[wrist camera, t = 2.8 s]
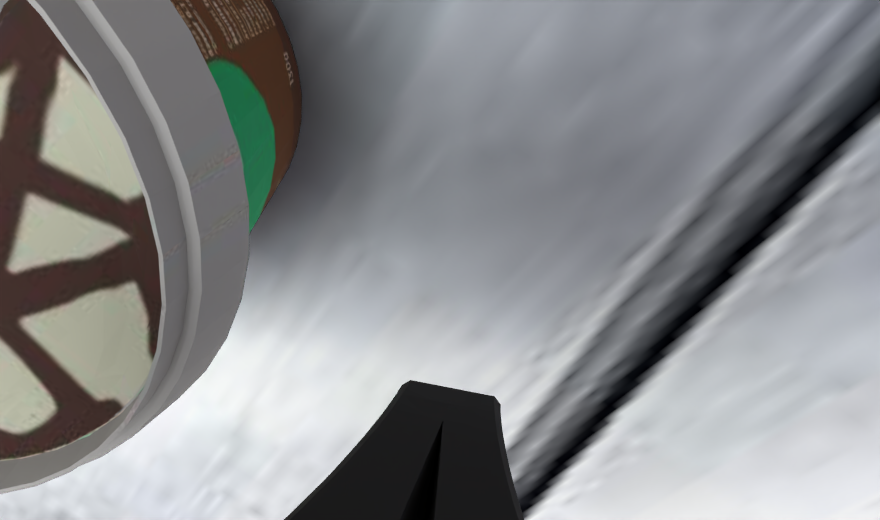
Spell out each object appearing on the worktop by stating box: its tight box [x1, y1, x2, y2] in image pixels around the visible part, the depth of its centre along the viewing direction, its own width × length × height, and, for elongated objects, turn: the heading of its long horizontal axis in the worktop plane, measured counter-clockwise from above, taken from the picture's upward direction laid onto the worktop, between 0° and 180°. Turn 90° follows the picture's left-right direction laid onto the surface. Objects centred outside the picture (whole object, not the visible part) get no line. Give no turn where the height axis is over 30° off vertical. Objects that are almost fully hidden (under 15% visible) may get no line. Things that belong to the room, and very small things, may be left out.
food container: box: [0, 0, 302, 494], centre depth 16 cm, size 12×6×10 cm, turn 132°
